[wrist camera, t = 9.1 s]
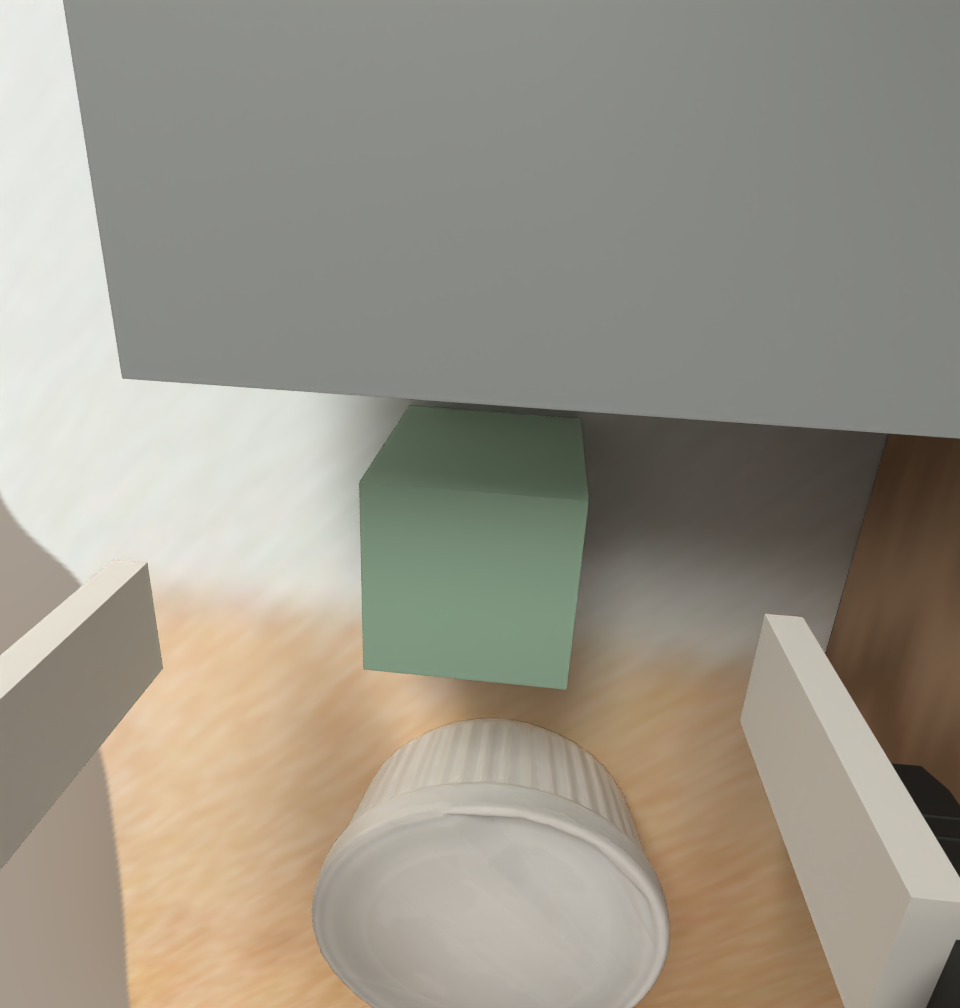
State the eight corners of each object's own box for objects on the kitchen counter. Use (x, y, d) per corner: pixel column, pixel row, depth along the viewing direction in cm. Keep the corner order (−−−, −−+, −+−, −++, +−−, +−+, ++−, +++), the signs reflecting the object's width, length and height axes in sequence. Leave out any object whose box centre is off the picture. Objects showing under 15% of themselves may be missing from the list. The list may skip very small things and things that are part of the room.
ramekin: (706, 757, 26) (740, 889, 21) (574, 945, 30) (577, 1089, 26) (407, 643, 25) (372, 753, 20) (318, 853, 30) (272, 984, 25)
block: (409, 405, 22) (359, 482, 16) (580, 417, 21) (588, 501, 16) (408, 555, 24) (363, 669, 18) (564, 569, 23) (566, 689, 18)
